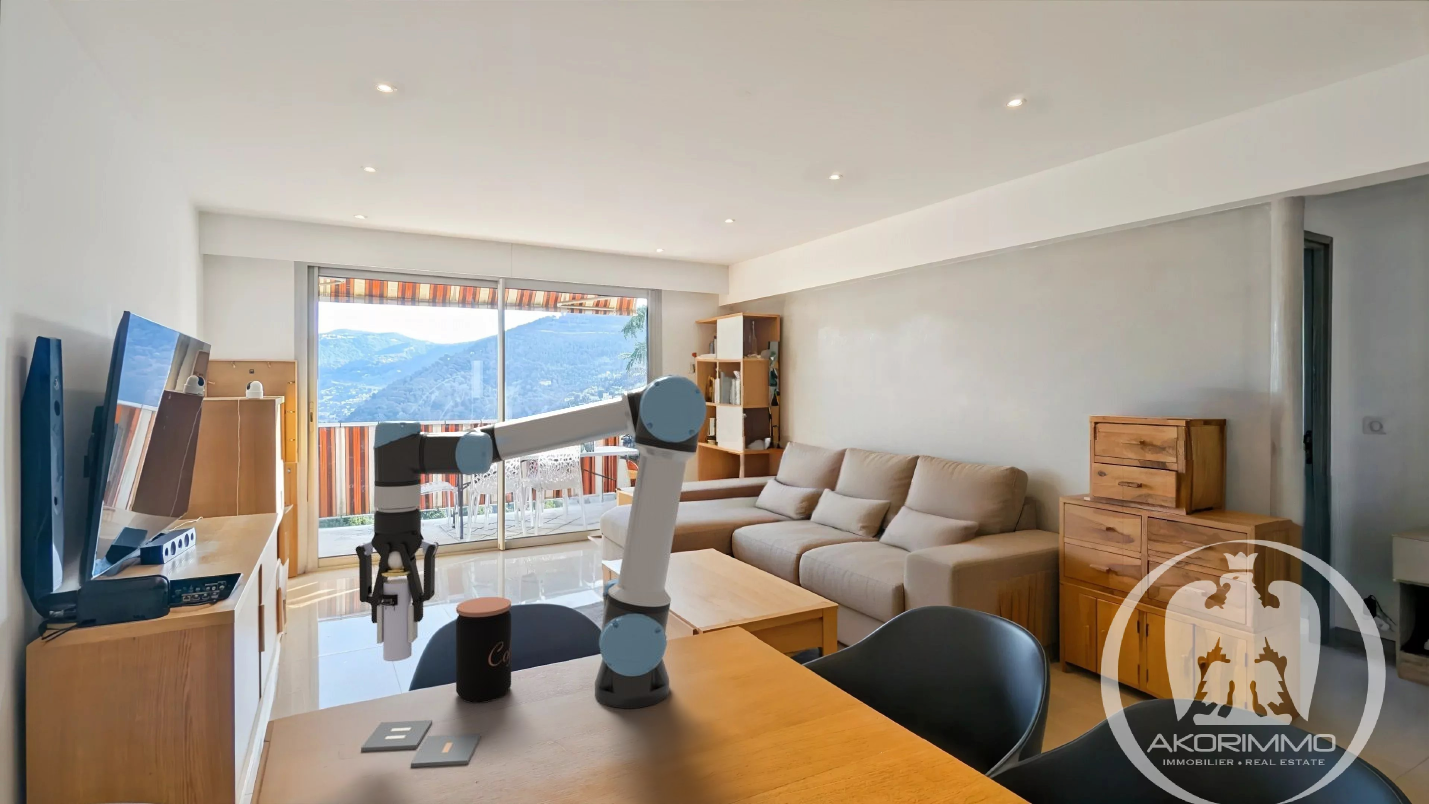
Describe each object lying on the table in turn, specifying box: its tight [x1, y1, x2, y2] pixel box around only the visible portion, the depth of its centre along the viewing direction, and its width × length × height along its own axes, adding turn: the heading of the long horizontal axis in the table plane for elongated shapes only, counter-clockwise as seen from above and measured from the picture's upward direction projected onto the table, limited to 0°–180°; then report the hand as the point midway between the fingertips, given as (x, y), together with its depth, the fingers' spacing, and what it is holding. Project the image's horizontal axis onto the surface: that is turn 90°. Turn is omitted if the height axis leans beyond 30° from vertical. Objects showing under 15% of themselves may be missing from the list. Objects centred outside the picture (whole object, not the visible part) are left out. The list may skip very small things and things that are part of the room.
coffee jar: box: [455, 596, 512, 704], centre depth 139 cm, size 11×11×18 cm
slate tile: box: [410, 732, 482, 768], centre depth 116 cm, size 9×9×1 cm
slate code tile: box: [360, 719, 433, 752], centre depth 121 cm, size 9×9×1 cm
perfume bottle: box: [380, 551, 413, 662], centre depth 120 cm, size 6×6×20 cm
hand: (397, 639), depth 120 cm, fingers closed on perfume bottle, 4 cm apart
